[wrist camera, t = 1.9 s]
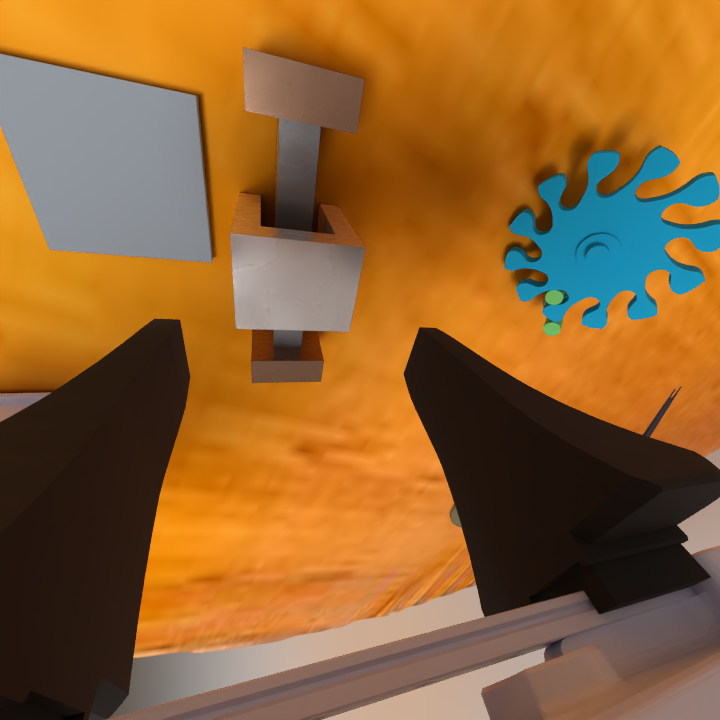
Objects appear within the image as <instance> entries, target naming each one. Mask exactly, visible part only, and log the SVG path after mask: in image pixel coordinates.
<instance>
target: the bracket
mask: <svg viewBox="0 0 720 720" xmlns="http://www.w3.org/2000/svg"><path fill="white" fill-rule="evenodd" d="M230 235H231V253H232V270H233V287H234V305H235V322H236V329H264V330H302V331H340V332H349V331H350V326H351V321H352V315H353V310H354V305H355V300H356V295H357V289H358V284H359V279H360V274H361V268H362V263H363V258H364V253H365V246H364V245H363V243H362V242H361V240H360V239H359V237H358V236H357V234H356V232H355V231H354V229H353V228H352V226H351V225H350V223H349V222H348V220H347V219H346V217H345V216H344V214H343V213H342V211H341V210H340V208H339V207H338V206H333V205H326V204H320V207H319V217H318V227H317V233H316V232H307V231H298V230H290V229H281V228H272V227H263V226H261V195H255V194H248V193H241V192H240V193H239V198H238V202H237V206H236V211H235V215H234V220H233V224H232V228H231V233H230Z"/></svg>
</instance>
